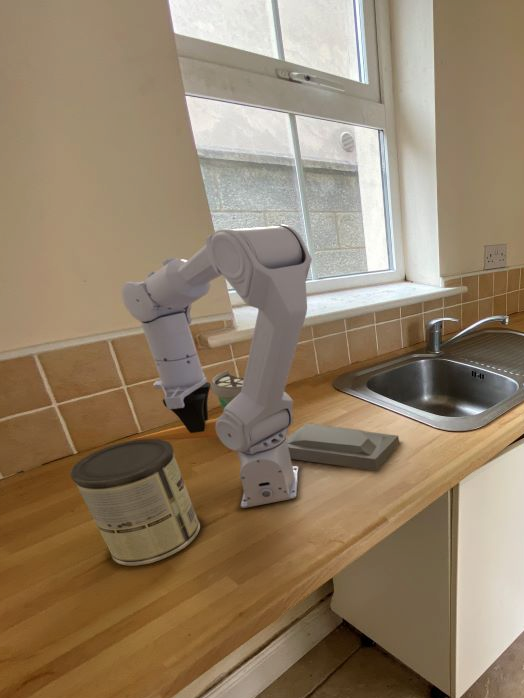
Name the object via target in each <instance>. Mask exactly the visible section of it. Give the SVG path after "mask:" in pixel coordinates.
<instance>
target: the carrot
mask: <svg viewBox="0 0 524 698" xmlns="http://www.w3.org/2000/svg"><path fill="white" fill-rule="evenodd" d="M218 418H219V417H216V418H211V419H208V420H206V421H205V430H204V431H203V432H196V433H190V432H189V431H188V429H187V428H186V427H185V425H184V424H183V425H179V426H176V427H172V428H167V429H163V430H160V431H157V432H153V433H148V434H145V435H142V436H138V437H134V438H130V439H129V441H134V440H142V439H159V440H164V441H165V440H186V439H187V440H188V439H204V438H219V437H218V435H217V433H216V421H217V419H218Z"/></svg>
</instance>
